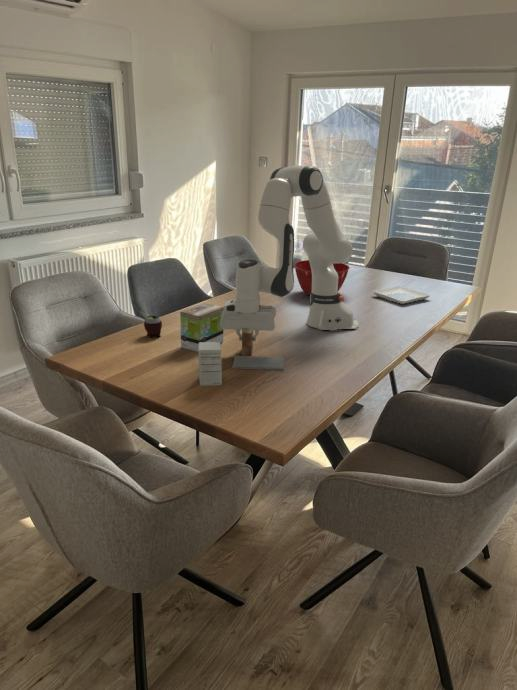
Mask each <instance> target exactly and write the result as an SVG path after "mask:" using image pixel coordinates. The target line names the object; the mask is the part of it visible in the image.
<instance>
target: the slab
mask: <svg viewBox="0 0 517 690" xmlns="http://www.w3.org/2000/svg"><path fill="white" fill-rule="evenodd" d="M241 335H242V341H241V356H253V355H252V354H253V349H254V341H252V335H254V330H252V329H247V328H242V330H241Z"/></svg>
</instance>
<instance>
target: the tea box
mask: <svg viewBox="0 0 517 690" xmlns="http://www.w3.org/2000/svg"><path fill="white" fill-rule="evenodd" d="M223 307H224V306H222V305H221V306H219V305H214V304H211V303H205V302H203V303H201V304H197V305H195V306H193V307H190V308H187V309H184V310H180V311H179V313H180V347H181V348H183V349H186V350H188V351H193V352H196V353H198V347H199V342H220V344H221V343H223V342H224V329H222V328H221V327H220V321H221V315H222V312H223V310H224V308H223Z"/></svg>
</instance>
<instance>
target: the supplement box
mask: <svg viewBox="0 0 517 690" xmlns="http://www.w3.org/2000/svg"><path fill="white" fill-rule="evenodd" d="M197 353H198V371H199V372H198V373H199V375H198V376H199V386H201V387H202V386H203V387H204V386H205V387H207V386H222V385H223V382H222V381H223V380H222V379H223V376H222V374H223V373H222V371H223V370H222V369H223V368H222V366H223V365H222V364H223V363H222V345H221V343H220V342H199V347H198V352H197Z"/></svg>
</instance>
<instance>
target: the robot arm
mask: <svg viewBox="0 0 517 690" xmlns="http://www.w3.org/2000/svg"><path fill="white" fill-rule="evenodd" d="M264 187H265V188H264V190H263V193H262V196H261V199H260V203H259V209H258V215H257V216H258V220H257V221H258V223H259V225H260V226H261V228H262V229H263V230H264V231H265V232H267V233H268V234H270V235H271V236H272V237H274V238H275V239H277V241H278V243H279V257H278V258H279V263H278V267H272V266H266V265H263V264H259V262H258V260H256V259H244V260H241V261H239V262H238V264H237V266H236V270H235V288H236V289H235V290H236V293H235V298H234V299H231V300H226V301H225V302H224V304H223V306H222V307H223V308H224V310H223V312H222V315H221V321H220V327H221V328H222V329H223V330H235V333H236V335H237V337H238V341H241V342H242V333H241V332H240V331H242V328H247V329H252V330H253V331H254V334H253V335H252V341H253V342H257V336H258V335H259V334H260V331H267V332H268V331H270V332H271V331H274V329H275V328H276V327H275V326H276V321H275V320H276V319H275V318H276V316H277V310H276V307H274V306H273V305H263V304H262V305H261V304H260V302H261V296H260V293H263V294H264V293H265V294H270V295H273V296H275V297H276V296H277V297H280V298H283V297H285V296H287V295H289V294H290V293H291V292H292V291H293V289H294V285H295V276H294V275H295V274H294V258H295V257H294V256H295V255H294V254H295V231H294V227H293V225H291V224H290V219H289V218H290V216H289V215H290V209H291V204H292V198H293V197H294V198H295V197H300V198H301V203H302V208H303V209H302V210H303V212H304V216H305V219H306V223H307V226H308V228H309V229H310V231H312V232H310V233H308V234H306V235H305V237H304V239H303V241H302V249H303V250H304V252H305V254H306V255H307V258H308V259H307V260H309V262H310V266H311V271H312V291H311V293H310V296H309V304H310V306H309V310H308V311H309V312H308V316H307V319H306V322H305V324H306V325H308V326H309V327H311V328H314V329H318V330H320V331H322V330H330V331H338V330H337V329H355V330H357V329H358V328H359V322H358V320H356V319H355V318H354V313H353V310H352V309H351V308H350V307H349V306H348V305H346V304H345V303H344V302H343V301H344V296H343V295H342V294H341V292H339V291H338V274H337V272H336V270H335V269H334V266H333V263H343V264H346V263H347V262H349V261H350V260H351V258H352V255H353V245H352V243H351V241H349V239H347V237H346V236H345V235H344V233H343V231H342V230H341V228H340V226H339V225H338V222H337V219H336V217H335V214H334V210H333V205H332V203H331V196H330V194H329V191H328V188H327V185H326V183H325V180H324V178H323V174H322V171H320V169H319V168H318V167H316V166H313V165H310V164H309V165H293V166H284V167H282V166H281V167H279V168H276V169H274V170H273V172H272V173H271V175H270V177H269V180H268V181H267V183H266V185H265V186H264ZM337 291H338V292H337ZM357 327H358V328H357ZM356 328H357V329H356Z"/></svg>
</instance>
